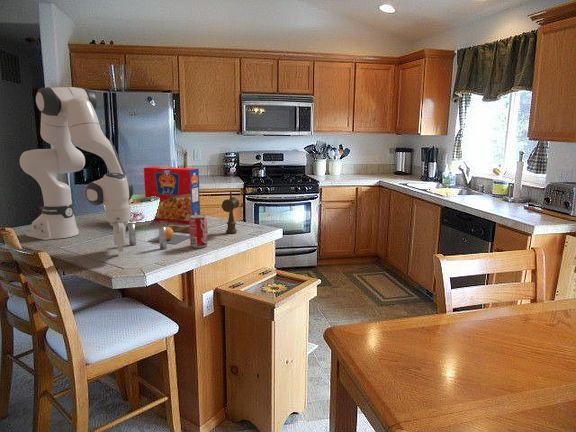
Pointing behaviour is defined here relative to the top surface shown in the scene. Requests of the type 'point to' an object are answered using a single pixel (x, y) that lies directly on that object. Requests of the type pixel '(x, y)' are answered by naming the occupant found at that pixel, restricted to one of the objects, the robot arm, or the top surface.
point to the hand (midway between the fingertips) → (121, 250)
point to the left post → (132, 234)
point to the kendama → (230, 212)
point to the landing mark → (172, 239)
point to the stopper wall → (180, 228)
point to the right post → (162, 237)
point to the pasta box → (173, 192)
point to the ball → (169, 233)
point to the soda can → (198, 231)
